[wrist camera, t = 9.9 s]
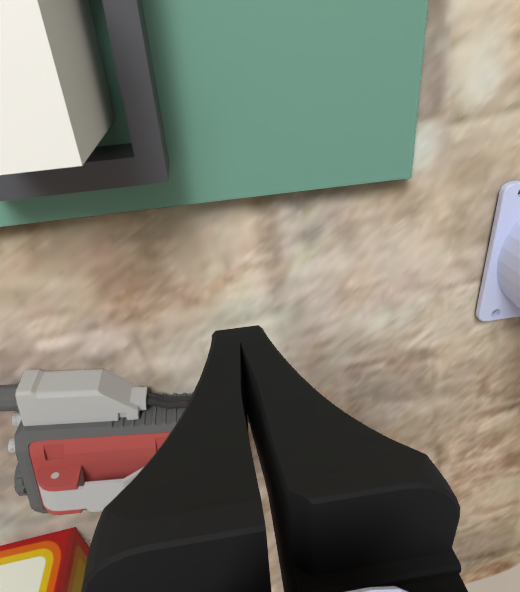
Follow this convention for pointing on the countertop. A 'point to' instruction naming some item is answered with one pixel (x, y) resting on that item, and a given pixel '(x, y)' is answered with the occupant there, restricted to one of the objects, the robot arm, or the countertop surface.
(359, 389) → the countertop surface
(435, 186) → the countertop surface
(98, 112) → the plug
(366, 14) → the board
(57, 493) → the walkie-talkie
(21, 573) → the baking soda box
